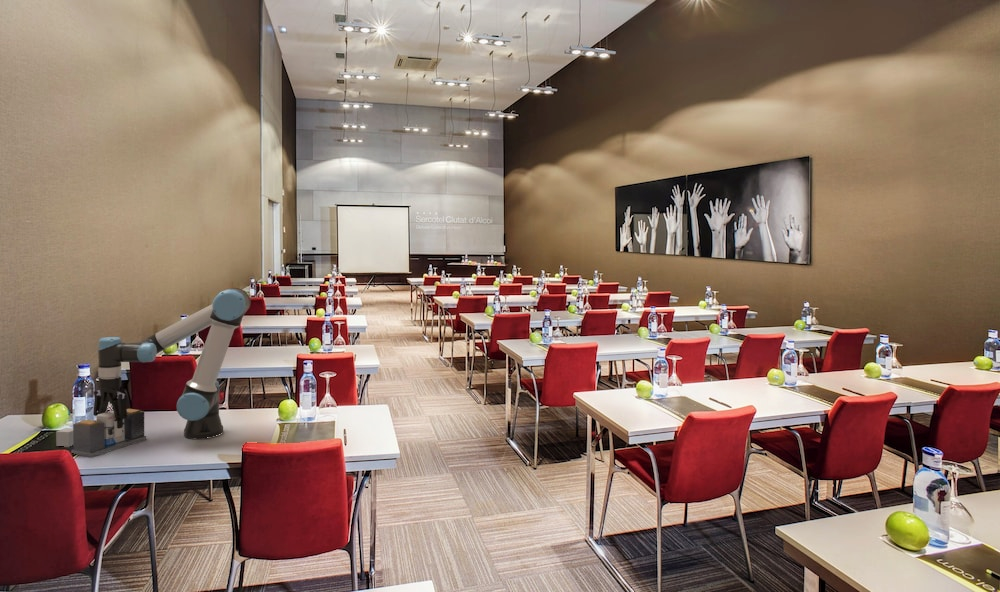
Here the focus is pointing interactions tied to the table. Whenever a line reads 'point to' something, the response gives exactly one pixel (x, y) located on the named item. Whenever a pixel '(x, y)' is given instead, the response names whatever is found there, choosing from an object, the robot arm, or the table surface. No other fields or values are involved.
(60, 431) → the block
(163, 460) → the table surface
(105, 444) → the ink box
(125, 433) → the grey block holder
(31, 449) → the table surface
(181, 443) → the table surface
